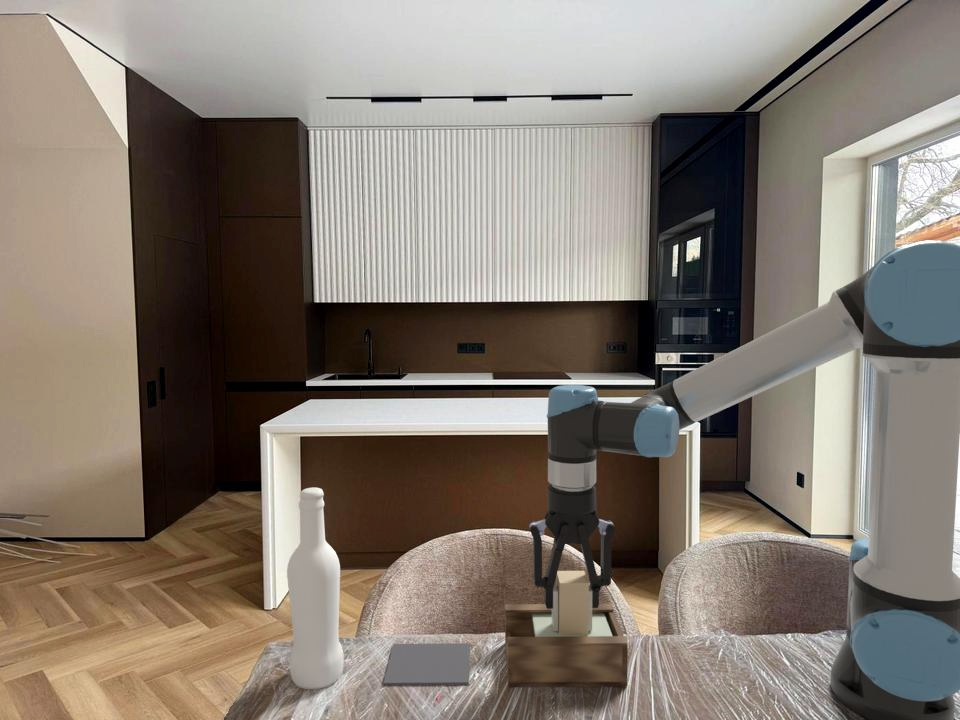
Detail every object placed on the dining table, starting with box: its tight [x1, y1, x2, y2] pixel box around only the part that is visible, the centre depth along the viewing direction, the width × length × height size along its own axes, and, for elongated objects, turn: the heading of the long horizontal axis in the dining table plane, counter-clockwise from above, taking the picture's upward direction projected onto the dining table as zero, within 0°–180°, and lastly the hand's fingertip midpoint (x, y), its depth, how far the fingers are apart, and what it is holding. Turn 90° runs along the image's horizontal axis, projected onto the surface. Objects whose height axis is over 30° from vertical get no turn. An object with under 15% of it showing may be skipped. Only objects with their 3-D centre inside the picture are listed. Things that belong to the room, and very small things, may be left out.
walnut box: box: [504, 603, 629, 688], centre depth 102 cm, size 18×12×7 cm
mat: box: [383, 642, 471, 686], centre depth 102 cm, size 13×11×1 cm
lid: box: [532, 570, 612, 637], centre depth 101 cm, size 12×10×10 cm
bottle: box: [286, 487, 345, 690], centre depth 98 cm, size 8×8×30 cm
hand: (571, 626), depth 102 cm, fingers closed on lid, 5 cm apart
